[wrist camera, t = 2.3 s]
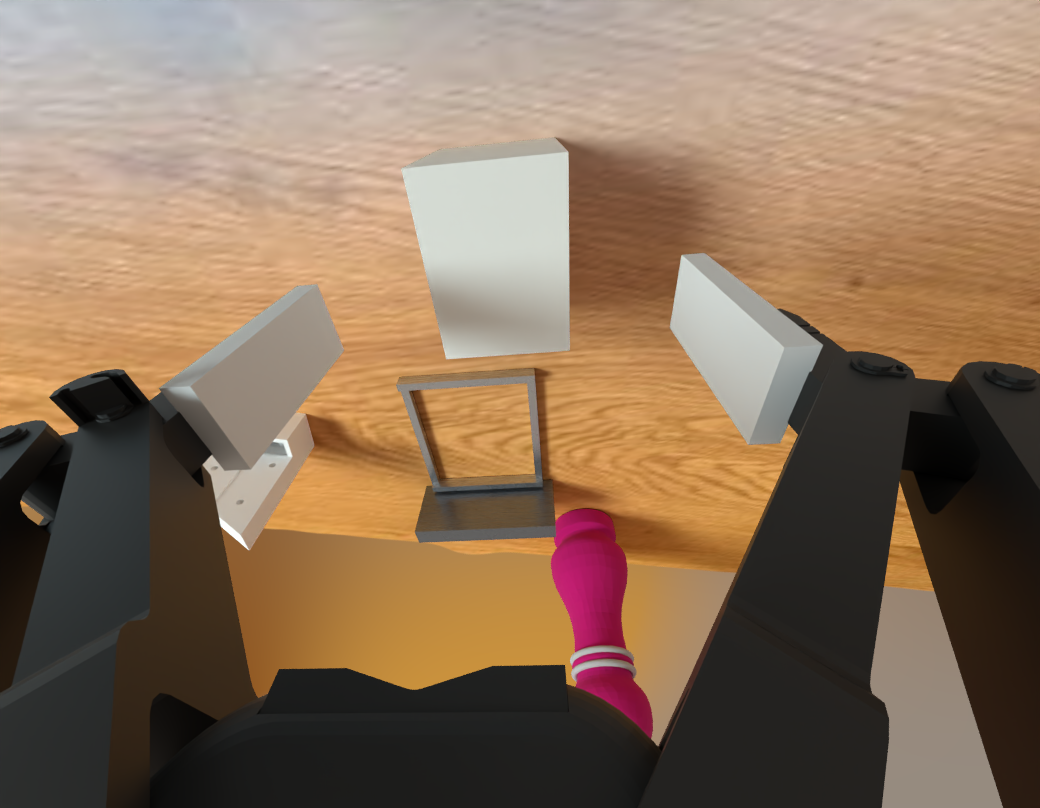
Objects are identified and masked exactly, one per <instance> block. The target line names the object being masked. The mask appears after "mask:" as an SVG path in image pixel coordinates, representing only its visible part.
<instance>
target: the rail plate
mask: <svg viewBox="0 0 1040 808" xmlns="http://www.w3.org/2000/svg"><path fill="white" fill-rule="evenodd" d="M519 383H527V386H528V398H529V409H530V420H531V431H532V442H533V453H534V464H535V474H529V475H509V476H490V477H470V478H451V479H440V477H439V474H438V471H437V468H436V465H435V462H434V458H433V455H432V452H431V449H430V446H429V443H428V440H427V437H426V433H425V430H424V427H423V424H422V421H421V418H420V415H419V412H418V408H417V405H416V402H415V399H414V396H413V393H412V390H427V389H442V388H458V387H473V386H488V385H504V384H519ZM396 386H397V389H398V391H401V393H402V396H403V399H404V402H405V405H406V408H407V411H408V414H409V417H410V420H411V423H412V426H413V429H414V431H415V434H416V437H417V440H418V443H419V446H420V449H421V452H422V455H423V458H424V461H425V464H426V466H427V469H428V472H429V475H430V478H431V481H432V484H433V485H432V486H427V487H426V491H425V495H424V498H423V502H422V506H421V510H420V514H419V518H418V522H417V526H416V530H415V533H416V536H417V538H418V540H419V543H421V542H445V541H470V540H494V539H519V538H543V537H556V524H555V511H554V497H553V484H552V480H543V479H542V465H541V452H540V438H539V424H538V411H537V397H536V384H535V370H534V368H528V369H513V370H499V371H484V372H469V373H454V374H439V375H424V376H410V377H399V379H398V382H397V384H396Z"/></svg>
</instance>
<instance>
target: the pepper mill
mask: <svg viewBox="0 0 1040 808" xmlns="http://www.w3.org/2000/svg"><path fill="white" fill-rule="evenodd" d="M555 524H556V537H554V542H555V545H556V547H557V549H556V550H555V552H554V554H553V556H552V559H551V569H552V575H553V579H554V582H555V585H556V588H557V590H558V592H559V594H560V596H561V598H562V600H563V602H564V604H565V606H566V609H567V611H568V613H569V616H570V619H571V622H572V626H573V632H574V637H575V653H574V654H573V655H572V656H571V659H570V662H571V665H572V669H573V670H572V678H573V679H574V680H575V681H576V682H577V684H576V686H575V687H577V688H580V689H583V690H585V691H587V692H589V693H592V694H594V695H596V696H598V697H600V698H602V699H603V700H605V701H607V702H608V703H610V704H611V705H613V706H614V707H616V708H617V709H619V710H620V711H621V712H623V713H624V714H625V715H626V716H627V717H629V718H630V719H631V720H632V721H633V722H635V723H636V724H637V725H638V726H639V727H640V728H641V729H642V730H643V731H644V732H645V733H646V734H647V735H648V737H649V738H650V739H651V737H652V731H653V719H652V712H651V707H650V704H649V701H648V699H647V696H646V695H645V693H644V692H643V691H642V690H641V688H640V687H639V686H638V685H637V684H636V683H635V682H634V680H633V678H634V677H635V675H636V669H635V667H634V664H633V661H634V657H633V655H632V653H631V652H629V651H628V650H627V649H626V646H625V641H624V637H623V631H622V622H621V611H622V603H623V597H624V593H625V589H626V584H627V562H626V557H625V554H624V552H623V550H622V549H621V548H620V546H619V545H617V544H616V543H615V540H616V535H615V530H614V525H613V521H612V520H611V518H610V517H609V516H608V515H607V514H605V513H603V512H601V511H598V510H595V509H576V510H573V511H569V512H567V513H565V514H563V515H562V516H560V517H559V518H558V519H557V521H556V522H555Z"/></svg>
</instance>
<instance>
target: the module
mask: <svg viewBox="0 0 1040 808" xmlns="http://www.w3.org/2000/svg"><path fill="white" fill-rule="evenodd" d="M401 170H402V174H403V178H404V182H405V187H406V191H407V195H408V199H409V203H410V208H411V212H412V216H413V220H414V225H415V229H416V233H417V237H418V241H419V246H420V250H421V254H422V258H423V263H424V267H425V271H426V275H427V279H428V284H429V288H430V292H431V296H432V301H433V305H434V309H435V313H436V317H437V322H438V326H439V330H440V334H441V339H442V343H443V347H444V351H445V355H446V359H456V358H470V357H485V356H499V355H513V354H528V353H542V352H556V351H570V316H569V159H568V151H567V150H566V149H565V148H564V147H563V146H562V145H561V144H560V143H559V142H558V140H557V139H556V138H555V137H553V138H543V139H533V140H523V141H514V142H504V143H494V144H485V145H475V146H465V147H456V148H446V149H439V150H437V151H435V152H433V153H431V154H429V155H427V156H425V157H423V158H421V159H419V160H417V161H415V162H413V163H411V164H409V165H407V166H405V167H403V168H401Z"/></svg>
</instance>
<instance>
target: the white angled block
mask: <svg viewBox="0 0 1040 808" xmlns="http://www.w3.org/2000/svg"><path fill="white" fill-rule="evenodd" d="M314 446H315V445H314V441H313V438H312V434H311V431H310V427H309V424H308V420H307V416H306V414H304V413H295V414H294V415H293V416H292V418H291V419H290V420H289V422H288V423H287V424H286V425H285V427H284V428H283V429H282V431H281V432H280V433H279V434H278V436H277V437H276V438H275V439H274V441H273V442H272V443H271V445H270V446H269V447H268V448H267V450H266V451H265V452H264V454H263V455H262V456H261V457H260V459H259V460H258V461H257V462H256V464H255V465H254V466H253V468H252V469H251V470H231V471H224V470H223V468H222V467H221V466H220V465H219V463H218V462H217V461H216V460H215V458H214V457H213V456H212V455H211V456H210V457H209V458H208V459H207V461H206V462H205V463H204V464H203V466H204V467H205V469H206V470H207V471H208V472H209V474H210V475H211V479H212V484H213V489H214V494H215V499H216V504H217V510H218V515H219V520H220V525H221V527H222V528H223V529H225V530H226V531H227V532H228V533H229V534H230V535H232V536H233V537H234V538H235V539H236V540H237V541H239V542H240V543H241V544H242V545H243V546H244V547H246V548H247V549H248V550H250V549H251V547H252V546H253V544H254V542H255V541H256V539H257V538H258V536H259V534H260V533H261V531H262V529H263V528H264V526H265V525H266V523H267V522H268V520H269V518H270V517H271V515H272V514H273V512H274V510H275V509H276V507H277V505H278V504H279V502H280V501H281V499H282V497H283V496H284V494H285V493H286V491H287V489H288V488H289V486H290V485H291V483H292V481H293V480H294V478H295V476H296V475H297V473H298V472H299V470H300V468H301V467H302V465H303V464H304V462H305V460H306V459H307V457H308V455H309V454H310V452H311V451H312V449H313V447H314Z"/></svg>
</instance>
